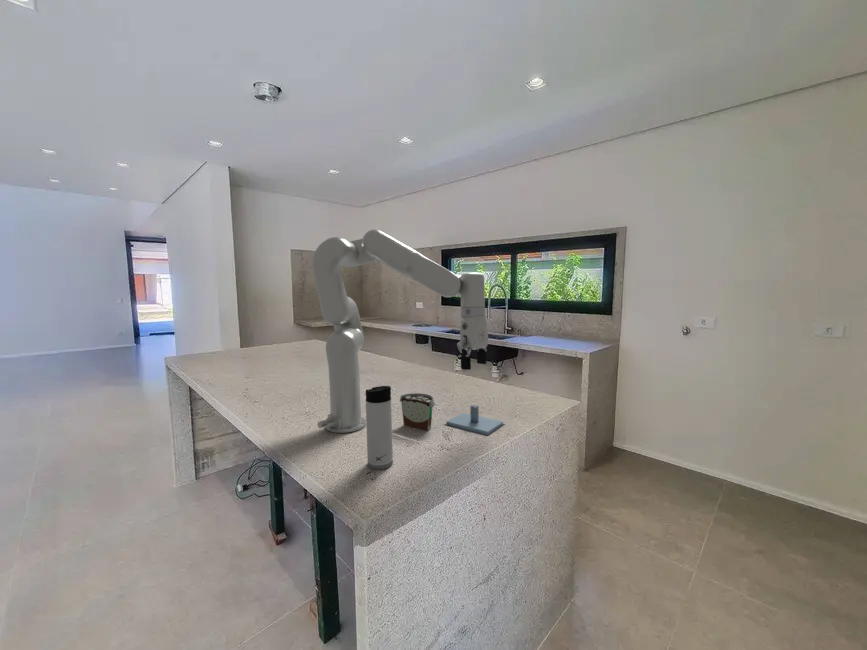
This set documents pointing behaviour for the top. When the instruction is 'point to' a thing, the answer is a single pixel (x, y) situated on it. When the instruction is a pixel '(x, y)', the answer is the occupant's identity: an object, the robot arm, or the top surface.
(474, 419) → the lid
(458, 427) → the mat
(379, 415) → the travel mug
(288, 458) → the top surface
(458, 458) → the top surface
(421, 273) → the robot arm
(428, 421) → the food container
